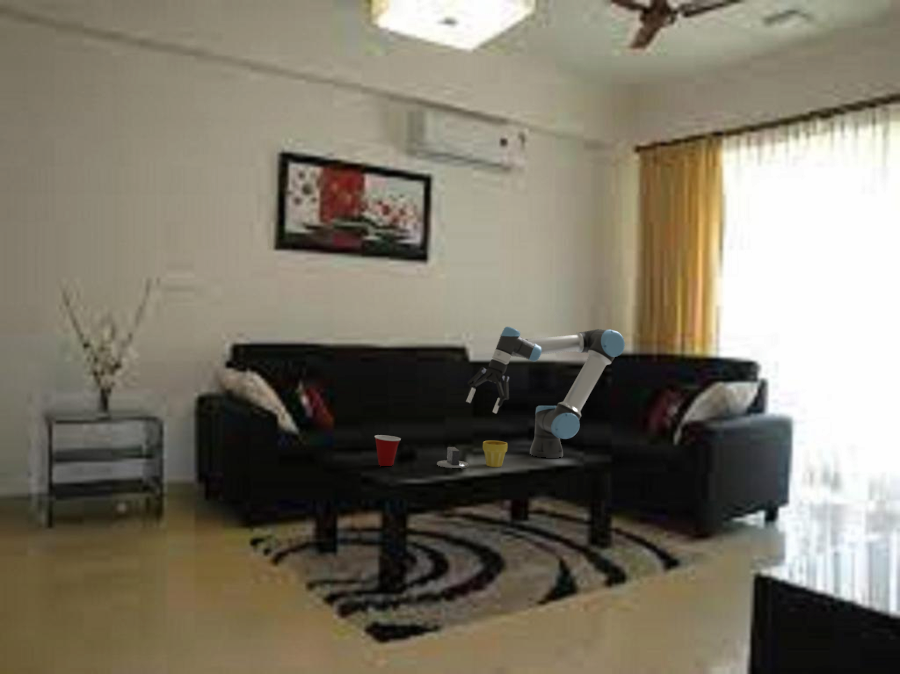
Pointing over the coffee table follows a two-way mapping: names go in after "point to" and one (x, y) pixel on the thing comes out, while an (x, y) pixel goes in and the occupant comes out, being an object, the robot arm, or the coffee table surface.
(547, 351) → the robot arm
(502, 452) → the plant pot
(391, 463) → the plastic cup
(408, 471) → the coffee table surface
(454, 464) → the steel lid
